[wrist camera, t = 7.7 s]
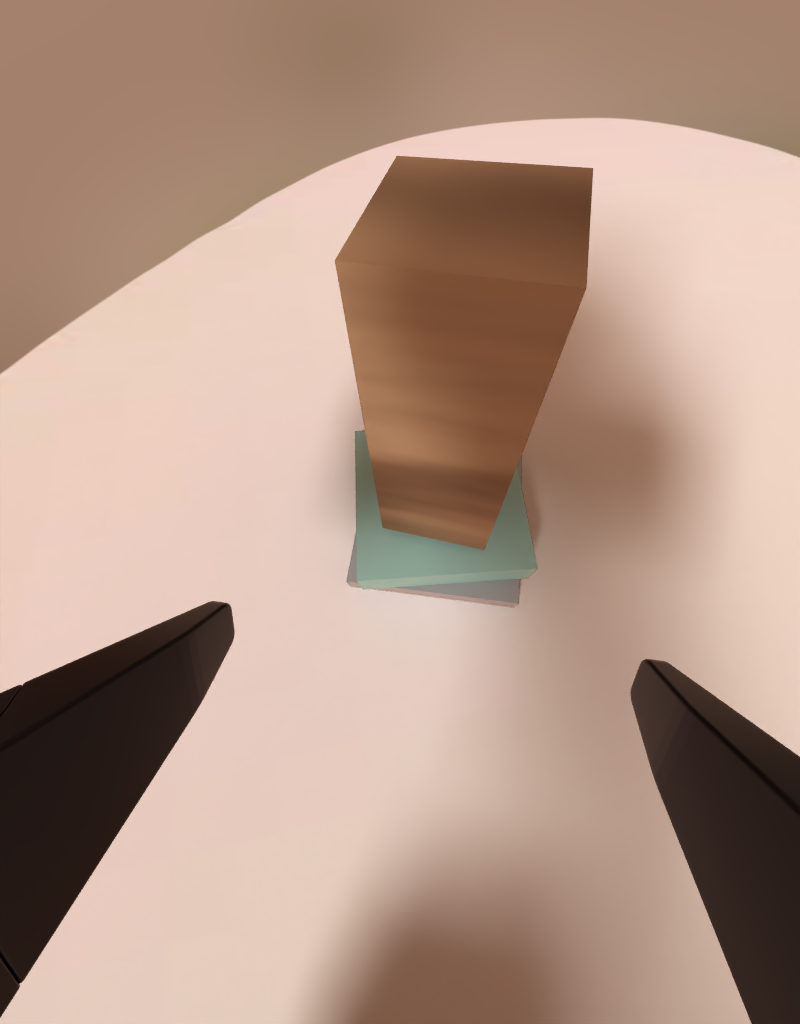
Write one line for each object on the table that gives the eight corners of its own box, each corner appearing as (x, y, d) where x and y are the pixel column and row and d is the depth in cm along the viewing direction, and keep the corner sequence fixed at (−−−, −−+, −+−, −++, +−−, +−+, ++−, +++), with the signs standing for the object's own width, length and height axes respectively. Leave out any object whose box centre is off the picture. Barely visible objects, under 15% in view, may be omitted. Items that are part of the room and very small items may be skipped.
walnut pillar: (484, 550, 18) (585, 288, 7) (382, 527, 19) (334, 260, 8) (499, 465, 20) (593, 168, 9) (407, 448, 21) (396, 155, 10)
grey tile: (510, 609, 21) (518, 603, 20) (352, 589, 22) (346, 581, 21) (514, 468, 25) (521, 452, 23) (377, 455, 26) (374, 439, 24)
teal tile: (527, 578, 20) (537, 568, 18) (363, 589, 20) (357, 581, 19) (501, 438, 23) (507, 418, 22) (360, 450, 24) (355, 431, 22)
